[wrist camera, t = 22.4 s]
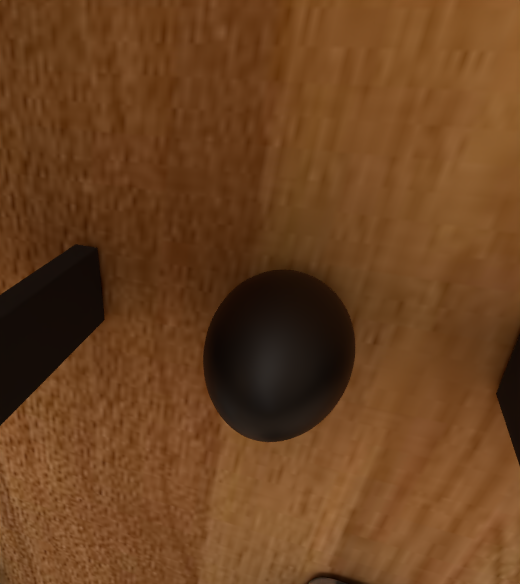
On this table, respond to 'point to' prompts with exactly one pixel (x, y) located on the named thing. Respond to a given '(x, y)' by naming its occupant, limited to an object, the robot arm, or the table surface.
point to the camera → (325, 581)
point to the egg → (278, 355)
